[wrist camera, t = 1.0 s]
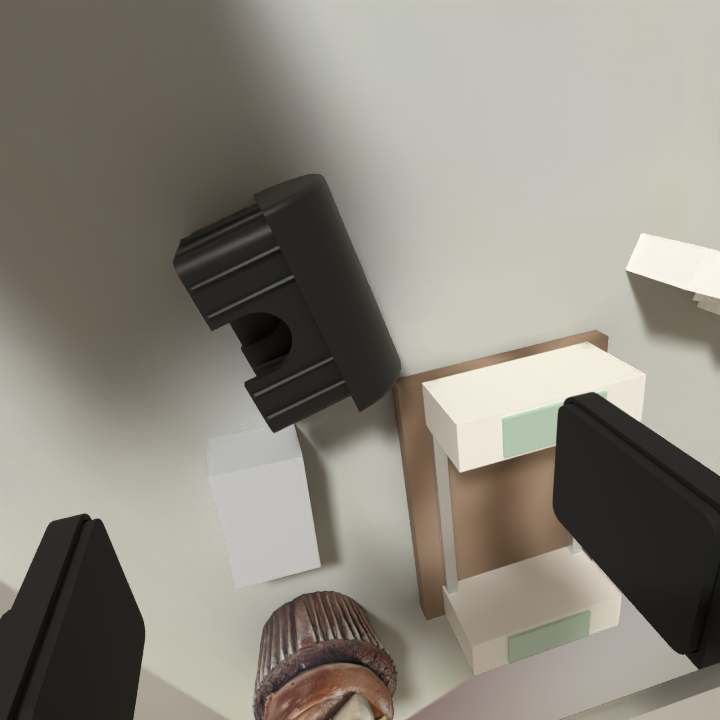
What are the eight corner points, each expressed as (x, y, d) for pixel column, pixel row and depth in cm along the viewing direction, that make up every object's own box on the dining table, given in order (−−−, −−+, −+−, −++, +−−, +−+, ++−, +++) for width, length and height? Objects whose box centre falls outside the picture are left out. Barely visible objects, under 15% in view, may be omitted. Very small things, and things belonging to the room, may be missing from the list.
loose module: (292, 419, 31) (302, 456, 27) (310, 522, 34) (320, 567, 31) (207, 436, 30) (206, 477, 26) (234, 540, 33) (236, 589, 30)
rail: (585, 342, 32) (594, 346, 31) (573, 571, 41) (580, 579, 40) (423, 382, 30) (428, 388, 30) (446, 613, 39) (450, 622, 38)
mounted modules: (587, 341, 32) (648, 376, 28) (574, 571, 41) (620, 627, 36) (421, 383, 30) (458, 427, 26) (445, 614, 39) (475, 678, 34)
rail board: (595, 330, 33) (608, 336, 32) (582, 555, 42) (591, 565, 41) (391, 380, 31) (397, 388, 30) (421, 607, 40) (426, 620, 39)
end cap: (379, 335, 30) (419, 385, 24) (269, 389, 30) (281, 453, 24) (308, 167, 25) (335, 176, 19) (177, 228, 25) (163, 256, 19)
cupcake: (219, 638, 36) (219, 803, 27) (330, 558, 36) (367, 698, 27) (300, 694, 40) (323, 852, 31) (400, 623, 40) (452, 763, 31)
